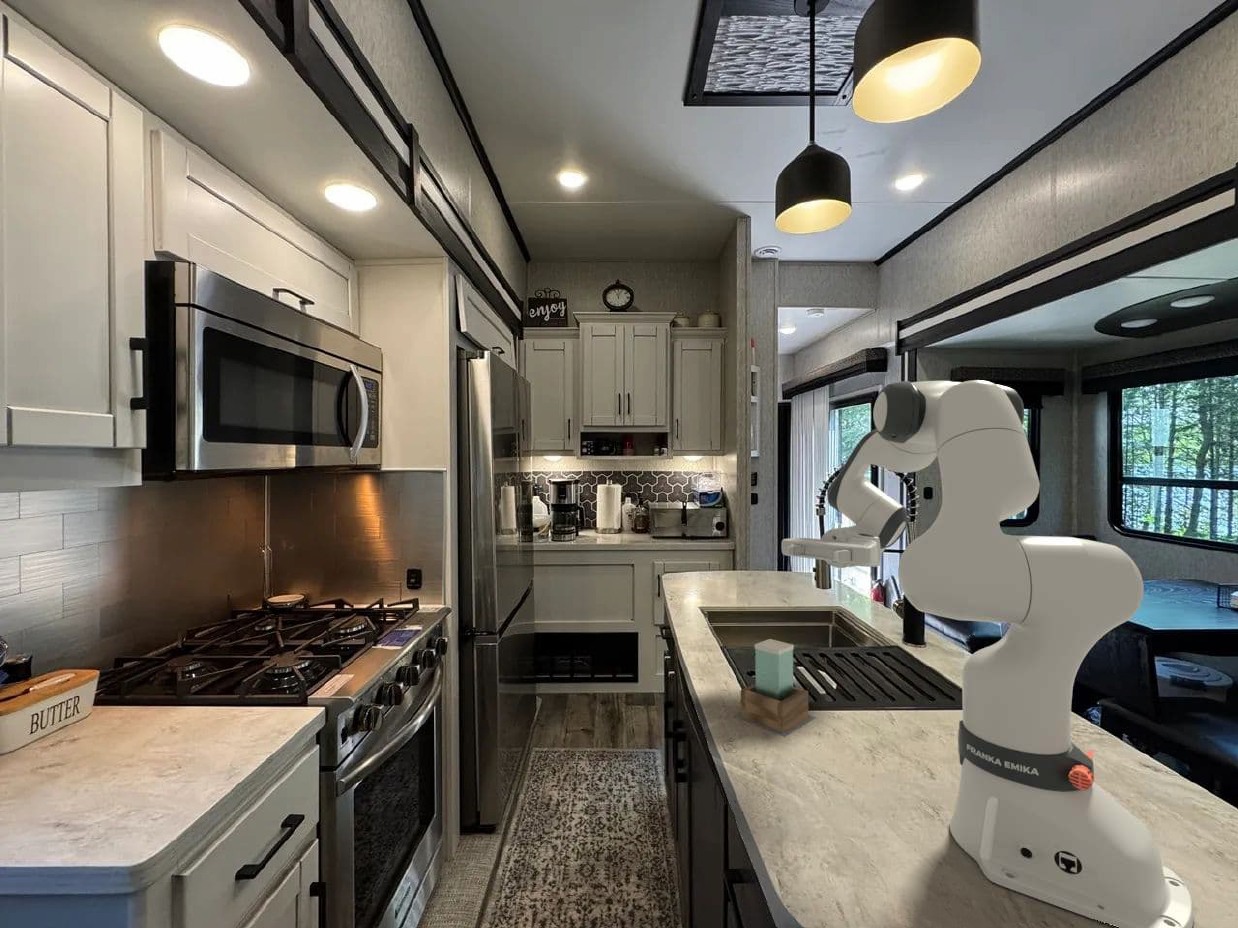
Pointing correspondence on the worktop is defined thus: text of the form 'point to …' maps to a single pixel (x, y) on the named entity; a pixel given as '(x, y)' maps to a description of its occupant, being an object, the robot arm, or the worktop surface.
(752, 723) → the mat
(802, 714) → the open wooden box
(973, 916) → the worktop surface
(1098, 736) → the worktop surface
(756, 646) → the tea tin
